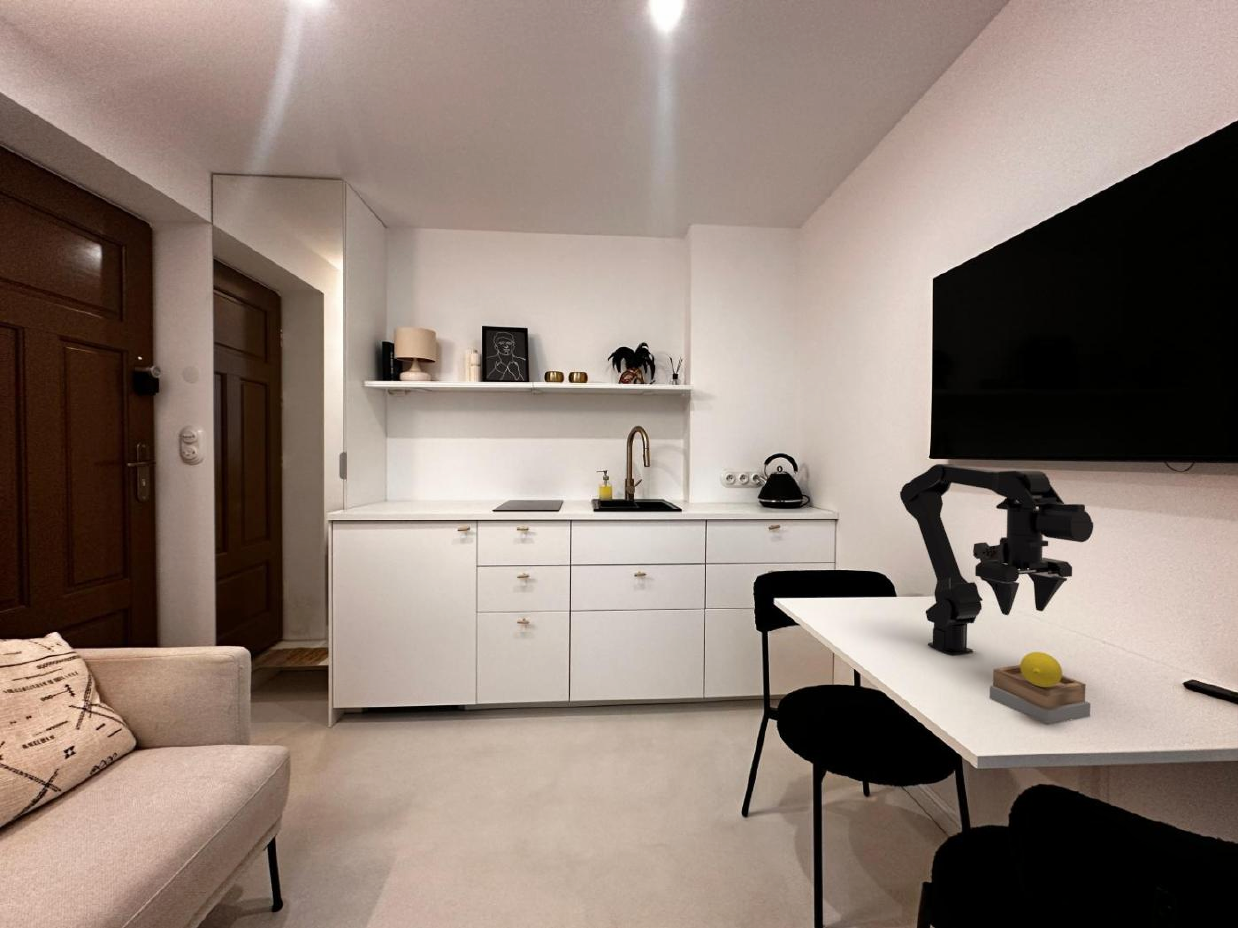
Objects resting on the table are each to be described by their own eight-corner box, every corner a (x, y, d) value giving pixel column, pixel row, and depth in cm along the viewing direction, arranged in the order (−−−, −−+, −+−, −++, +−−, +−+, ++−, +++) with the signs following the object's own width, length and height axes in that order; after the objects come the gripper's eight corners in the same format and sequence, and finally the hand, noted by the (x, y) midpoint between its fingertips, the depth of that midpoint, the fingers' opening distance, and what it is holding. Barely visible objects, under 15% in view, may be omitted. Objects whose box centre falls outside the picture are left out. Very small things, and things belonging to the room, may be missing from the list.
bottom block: (1029, 694, 101) (1029, 679, 101) (1089, 720, 91) (1090, 702, 91) (989, 702, 98) (989, 685, 98) (1048, 729, 88) (1048, 711, 88)
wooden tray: (1029, 679, 101) (1030, 663, 101) (1084, 701, 92) (1085, 683, 92) (993, 685, 98) (993, 668, 98) (1046, 708, 89) (1046, 690, 89)
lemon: (1069, 659, 92) (1063, 665, 86) (1059, 689, 92) (1051, 697, 87) (1030, 643, 96) (1021, 648, 90) (1020, 672, 96) (1011, 679, 91)
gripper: (1018, 526, 116) (1016, 598, 117) (951, 530, 111) (950, 605, 111) (1075, 534, 106) (1073, 613, 106) (1004, 538, 100) (1002, 621, 101)
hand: (1022, 612), depth 106 cm, fingers open, 9 cm apart
